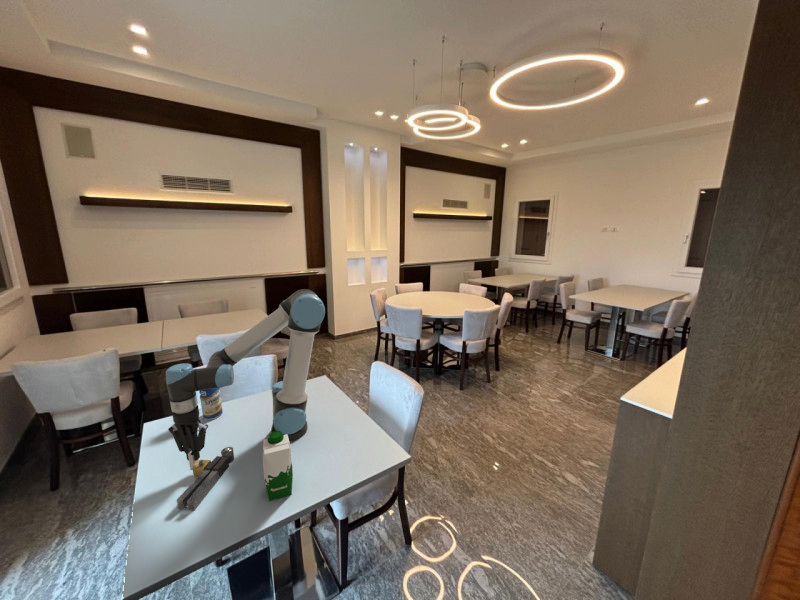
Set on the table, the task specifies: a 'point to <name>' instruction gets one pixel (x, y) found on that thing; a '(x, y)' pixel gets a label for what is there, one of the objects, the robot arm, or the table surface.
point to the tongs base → (211, 478)
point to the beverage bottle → (211, 403)
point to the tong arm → (196, 484)
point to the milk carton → (277, 465)
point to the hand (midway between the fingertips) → (195, 467)
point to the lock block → (200, 467)
